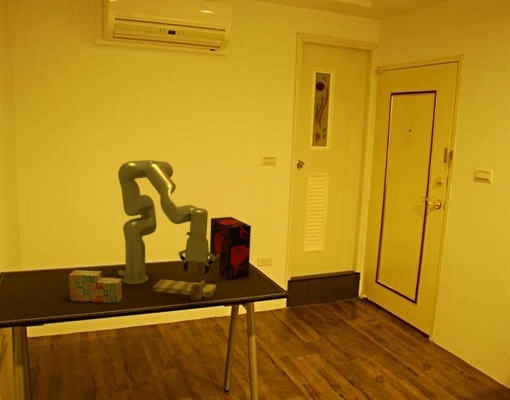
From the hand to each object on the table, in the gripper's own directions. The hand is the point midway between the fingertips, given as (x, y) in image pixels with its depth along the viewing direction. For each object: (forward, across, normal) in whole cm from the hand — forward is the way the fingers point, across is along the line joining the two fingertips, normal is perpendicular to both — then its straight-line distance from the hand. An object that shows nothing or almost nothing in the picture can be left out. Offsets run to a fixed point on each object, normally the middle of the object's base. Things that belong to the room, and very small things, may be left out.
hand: (196, 271), depth 203 cm
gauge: (+13, +1, +5) cm, 13 cm away
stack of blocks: (+14, -42, -14) cm, 46 cm away
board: (+13, -7, +7) cm, 16 cm away
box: (+13, +7, +39) cm, 42 cm away
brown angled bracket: (+13, 0, +23) cm, 27 cm away
